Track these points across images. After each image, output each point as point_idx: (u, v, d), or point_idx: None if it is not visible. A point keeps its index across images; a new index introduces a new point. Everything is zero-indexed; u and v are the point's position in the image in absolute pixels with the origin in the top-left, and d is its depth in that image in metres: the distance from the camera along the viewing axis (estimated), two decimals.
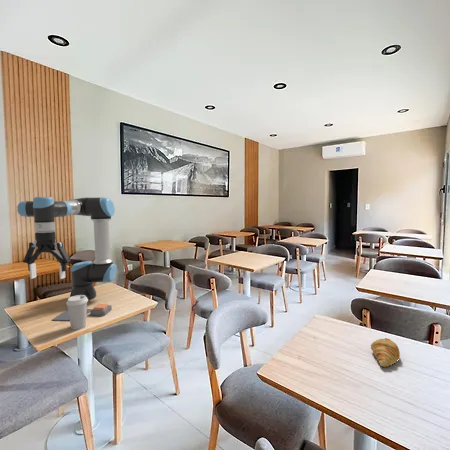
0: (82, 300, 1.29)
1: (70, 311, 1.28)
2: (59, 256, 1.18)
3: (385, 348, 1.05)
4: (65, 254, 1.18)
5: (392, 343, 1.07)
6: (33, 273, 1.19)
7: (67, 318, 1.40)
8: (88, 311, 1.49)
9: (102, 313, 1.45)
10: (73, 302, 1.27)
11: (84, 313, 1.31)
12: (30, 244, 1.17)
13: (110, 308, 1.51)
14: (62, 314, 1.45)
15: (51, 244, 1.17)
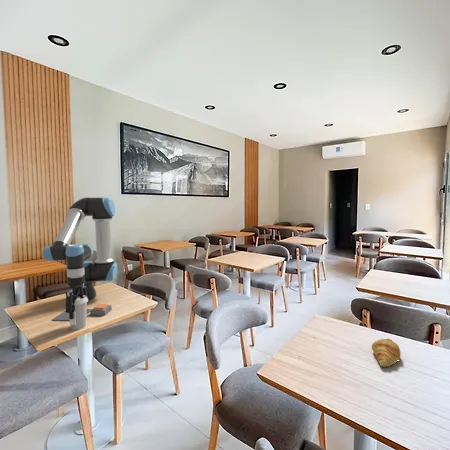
0: (82, 300, 1.29)
1: None
2: None
3: (385, 348, 1.05)
4: (68, 304, 1.24)
5: (393, 343, 1.07)
6: None
7: (67, 318, 1.40)
8: (88, 311, 1.49)
9: (102, 313, 1.45)
10: None
11: (84, 313, 1.31)
12: None
13: (110, 308, 1.51)
14: (62, 314, 1.45)
15: None
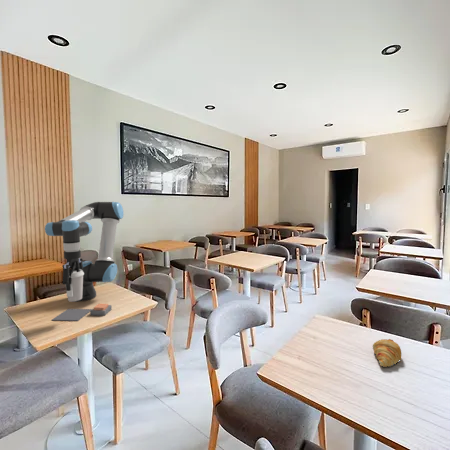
0: (78, 273, 1.35)
1: None
2: None
3: (386, 348, 1.05)
4: (65, 276, 1.30)
5: (394, 344, 1.07)
6: None
7: (67, 318, 1.40)
8: (88, 311, 1.49)
9: (102, 313, 1.45)
10: None
11: (80, 286, 1.37)
12: None
13: (110, 308, 1.51)
14: (62, 314, 1.45)
15: None
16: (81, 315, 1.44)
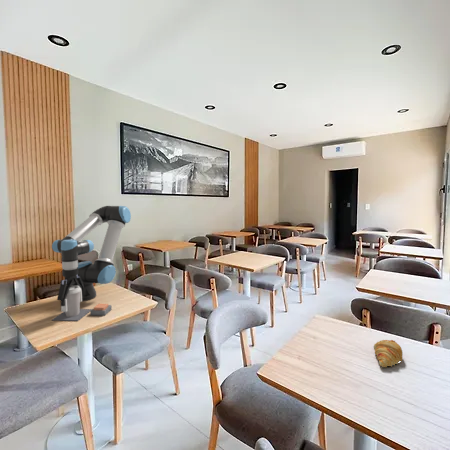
0: (76, 290, 1.42)
1: None
2: None
3: (387, 349, 1.05)
4: (61, 292, 1.35)
5: (395, 345, 1.06)
6: None
7: (67, 318, 1.40)
8: (88, 311, 1.49)
9: (102, 313, 1.45)
10: None
11: (78, 301, 1.44)
12: None
13: (110, 308, 1.51)
14: (62, 314, 1.45)
15: None
16: (81, 315, 1.44)
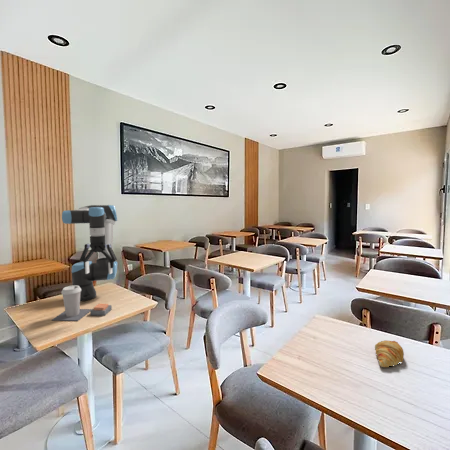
0: (76, 290, 1.42)
1: (65, 299, 1.41)
2: (108, 255, 1.45)
3: (387, 349, 1.04)
4: (113, 254, 1.45)
5: (396, 345, 1.06)
6: (87, 269, 1.47)
7: (67, 318, 1.40)
8: (88, 311, 1.49)
9: (102, 313, 1.45)
10: (67, 291, 1.40)
11: (78, 301, 1.44)
12: (85, 245, 1.44)
13: (110, 308, 1.51)
14: (62, 314, 1.45)
15: (102, 245, 1.44)
16: (81, 315, 1.44)
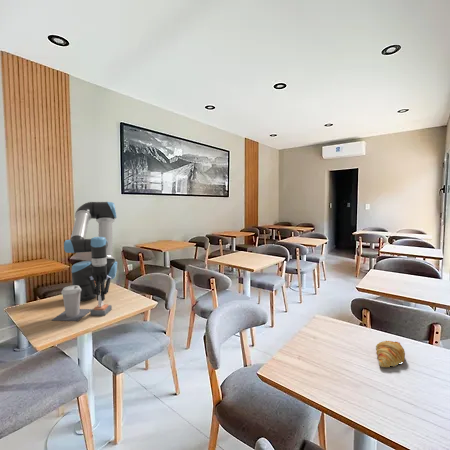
0: (76, 290, 1.42)
1: (65, 299, 1.41)
2: (103, 288, 1.47)
3: (388, 349, 1.04)
4: (108, 287, 1.48)
5: (397, 346, 1.05)
6: None
7: (67, 318, 1.40)
8: (88, 311, 1.49)
9: (102, 313, 1.45)
10: (67, 291, 1.40)
11: (78, 301, 1.44)
12: (89, 279, 1.46)
13: (110, 308, 1.51)
14: (62, 314, 1.45)
15: (104, 275, 1.46)
16: (81, 315, 1.44)
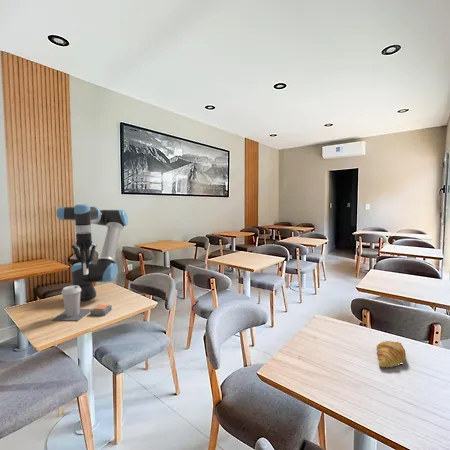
0: (76, 290, 1.42)
1: (65, 299, 1.41)
2: (88, 255, 1.47)
3: (388, 350, 1.04)
4: (93, 255, 1.47)
5: (398, 346, 1.05)
6: None
7: (67, 318, 1.40)
8: (88, 311, 1.49)
9: (102, 313, 1.45)
10: (67, 291, 1.40)
11: (78, 301, 1.44)
12: (73, 246, 1.45)
13: (110, 308, 1.51)
14: (62, 314, 1.45)
15: (89, 243, 1.45)
16: (81, 315, 1.44)
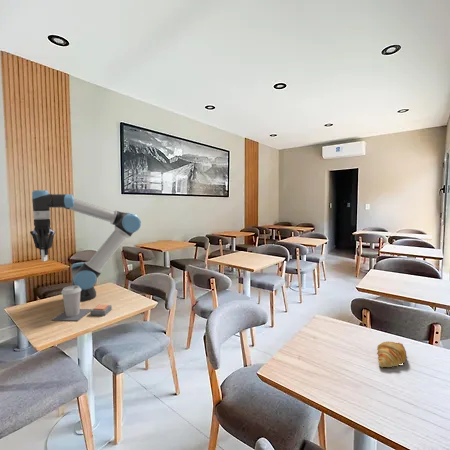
0: (76, 290, 1.42)
1: (65, 299, 1.41)
2: (46, 242, 1.46)
3: (388, 350, 1.04)
4: (51, 241, 1.46)
5: (398, 347, 1.05)
6: None
7: (67, 318, 1.40)
8: (88, 311, 1.49)
9: (102, 313, 1.45)
10: (67, 291, 1.40)
11: (78, 301, 1.44)
12: (31, 232, 1.45)
13: (110, 308, 1.51)
14: (62, 314, 1.45)
15: (47, 229, 1.44)
16: (81, 315, 1.44)
